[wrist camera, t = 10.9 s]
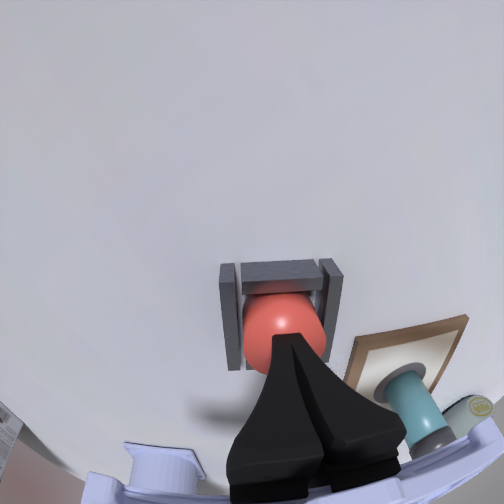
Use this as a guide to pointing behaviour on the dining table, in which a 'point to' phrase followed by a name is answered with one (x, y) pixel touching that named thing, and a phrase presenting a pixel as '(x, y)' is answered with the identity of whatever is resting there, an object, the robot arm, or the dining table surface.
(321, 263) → the button collar
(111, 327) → the dining table surface
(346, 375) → the picture frame
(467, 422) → the air freshener
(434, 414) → the marker
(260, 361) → the button
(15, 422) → the coffee box
